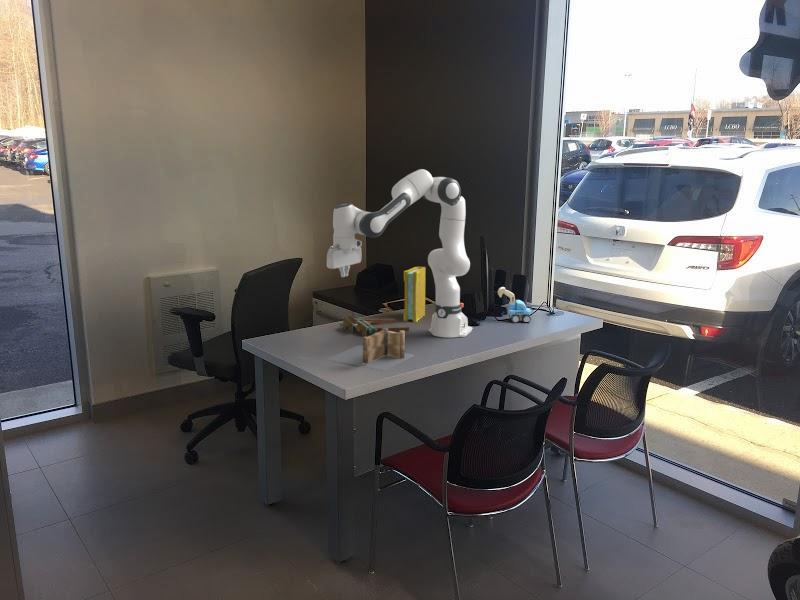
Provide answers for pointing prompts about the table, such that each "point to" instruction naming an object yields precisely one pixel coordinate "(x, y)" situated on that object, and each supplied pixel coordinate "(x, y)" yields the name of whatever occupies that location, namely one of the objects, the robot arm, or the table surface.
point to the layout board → (381, 363)
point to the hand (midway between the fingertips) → (344, 276)
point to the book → (414, 293)
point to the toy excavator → (516, 307)
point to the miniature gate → (368, 325)
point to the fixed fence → (394, 343)
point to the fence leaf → (373, 346)
